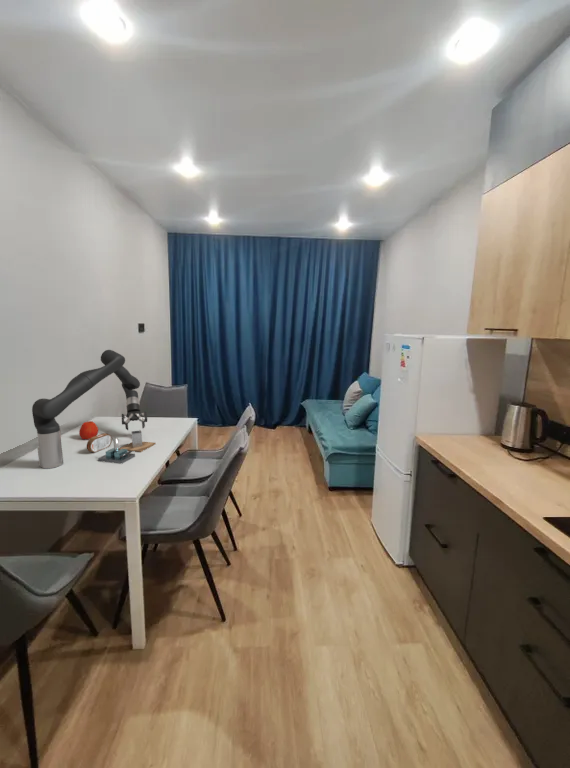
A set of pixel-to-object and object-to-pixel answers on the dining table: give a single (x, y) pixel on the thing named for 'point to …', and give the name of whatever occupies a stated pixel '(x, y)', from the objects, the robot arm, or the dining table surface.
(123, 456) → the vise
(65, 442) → the dining table surface
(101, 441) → the tin
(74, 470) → the dining table surface
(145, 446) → the board
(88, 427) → the apple
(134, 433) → the sleeve
